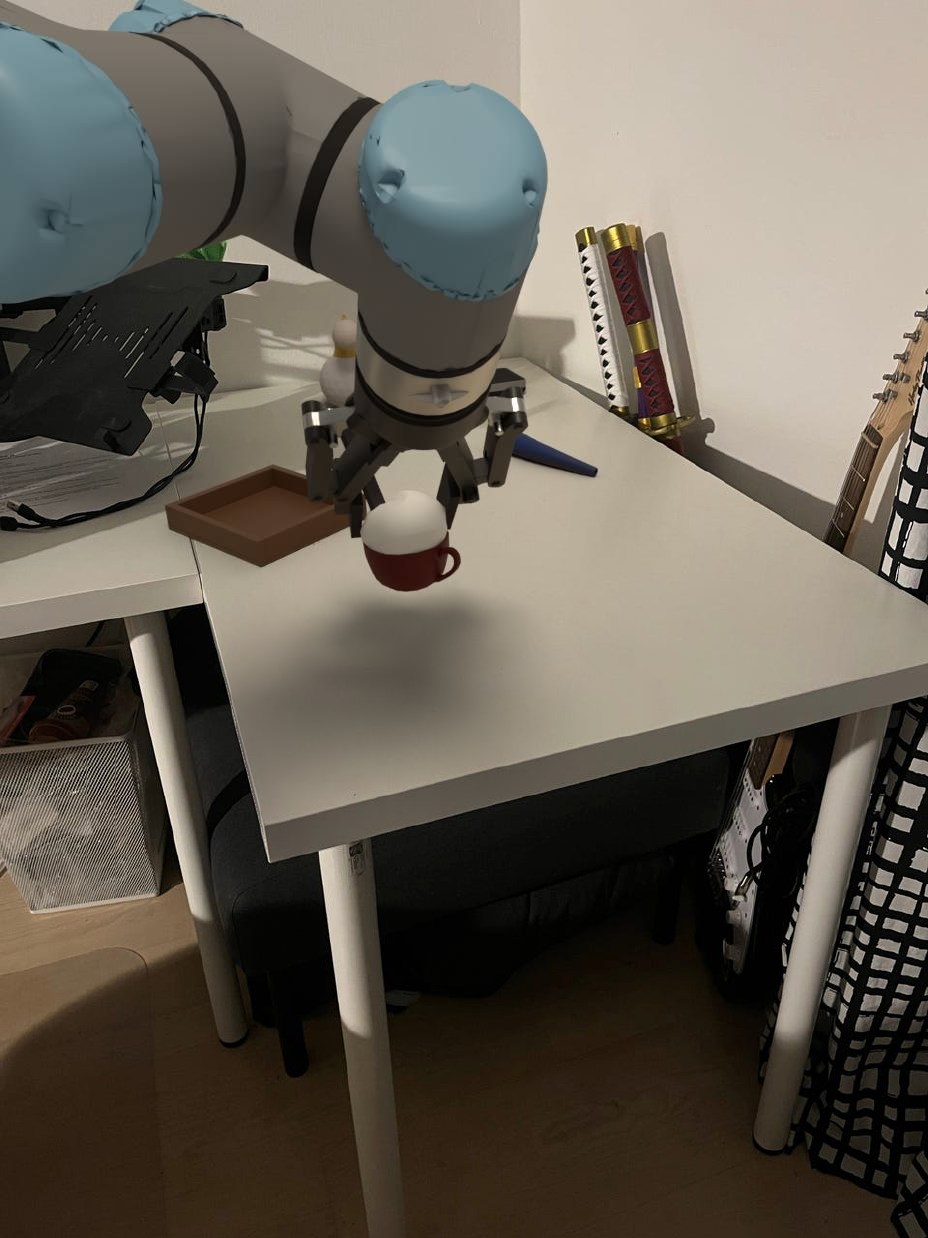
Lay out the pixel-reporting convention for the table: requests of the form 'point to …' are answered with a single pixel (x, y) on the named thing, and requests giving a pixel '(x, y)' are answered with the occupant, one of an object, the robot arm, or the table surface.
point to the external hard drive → (505, 381)
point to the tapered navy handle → (550, 456)
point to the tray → (257, 515)
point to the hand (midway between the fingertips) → (399, 517)
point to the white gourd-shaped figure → (340, 364)
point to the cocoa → (405, 537)
